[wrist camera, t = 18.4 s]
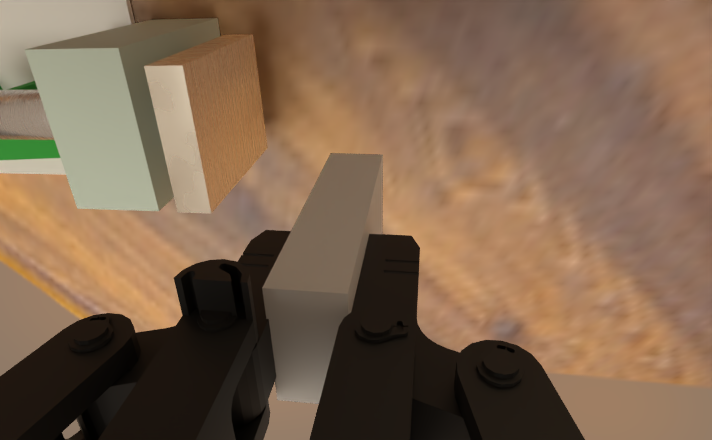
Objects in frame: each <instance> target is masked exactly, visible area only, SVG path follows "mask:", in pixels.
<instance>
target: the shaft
mask: <svg viewBox="0 0 712 440" xmlns="http://www.w3.org/2000/svg"><path fill="white" fill-rule="evenodd" d="M144 68H145V73H146V77H147V81H148V86H149V90H150V95H151V99H152V103H153V108H154V112H155V116H156V121H157V125H158V129H159V134H160V138H161V142H162V147H163V151H164V155H165V160H166V164H167V168H168V173H169V177H170V182H171V186H172V190H173V195H174V199H175V203H176V208H177V212H185V213H212V212H213V211H214V210H215V208H216V207H217V206H218V205H219V204H220V203H221V201H222V200H223V199H224V198H225V197H226V196H227V194H228V193H229V192H230V191H231V190H232V189H233V187H234V186H235V185H236V184H237V183H238V182H239V180H240V179H241V178H242V177H243V176H244V175H245V173H246V172H247V171H248V170H249V169H250V168H251V167H252V165H253V164H254V163H255V162H256V161H257V160H258V158H259V157H260V156H261V155H262V154H263V153H264V151H265V150H266V149H267V140H266V132H265V124H264V116H263V108H262V101H261V93H260V85H259V77H258V69H257V61H256V53H255V45H254V37H253V34H230V35H222V36H220V37H217V38H215V39H212V40H209V41H207V42H204V43H202V44H199V45H197V46H194V47H192V48H189V49H186V50H184V51H181V52H179V53H176V54H174V55H171V56H168V57H166V58H163V59H161V60H158V61H156V62H153V63H151V64H148V65H145V66H144ZM0 140H54V137H53V134H52V131H51V128H50V125H49V122H48V119H47V116H46V113H45V110H44V107H43V104H42V101H41V98H40V95H39V92H38V90H0Z"/></svg>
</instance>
